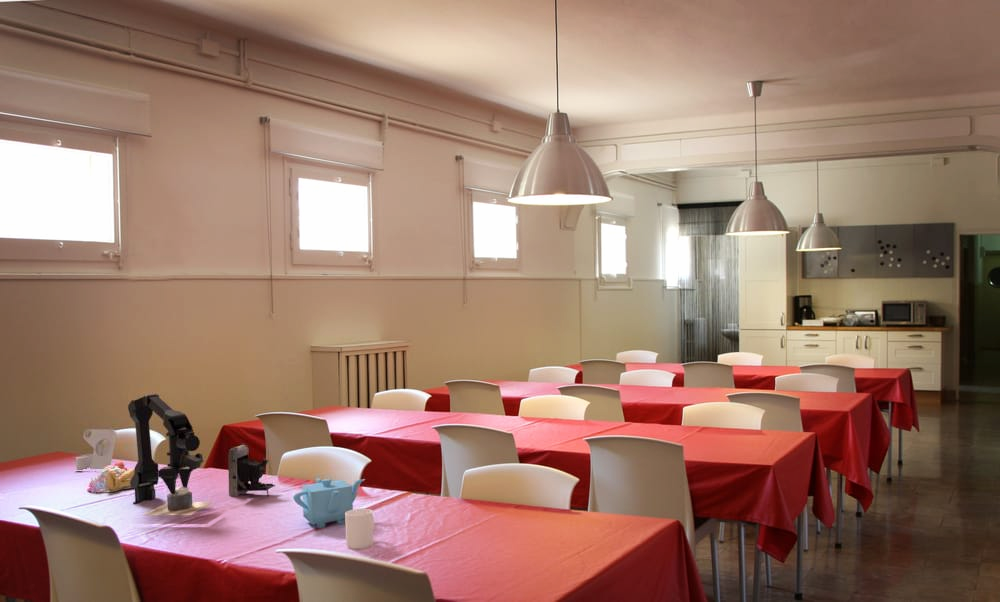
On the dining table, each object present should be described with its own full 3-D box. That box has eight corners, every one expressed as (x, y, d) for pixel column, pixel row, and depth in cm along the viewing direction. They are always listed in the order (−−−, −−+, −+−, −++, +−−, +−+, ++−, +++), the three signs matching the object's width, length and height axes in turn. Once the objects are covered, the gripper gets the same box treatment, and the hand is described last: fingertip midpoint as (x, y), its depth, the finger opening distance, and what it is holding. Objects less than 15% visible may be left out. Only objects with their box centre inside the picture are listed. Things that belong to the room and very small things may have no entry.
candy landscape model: (158, 483, 356) (158, 462, 356) (107, 496, 336) (106, 473, 336) (123, 478, 369) (122, 457, 369) (71, 490, 349) (70, 468, 349)
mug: (362, 536, 267) (361, 504, 267) (385, 539, 264) (383, 506, 264) (340, 548, 256) (339, 514, 256) (363, 550, 253) (362, 516, 253)
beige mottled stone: (166, 499, 304) (166, 491, 304) (176, 494, 312) (176, 486, 312) (183, 499, 304) (182, 491, 304) (192, 494, 311) (192, 486, 311)
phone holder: (73, 471, 386) (71, 432, 386) (88, 466, 396) (86, 428, 396) (106, 471, 383) (104, 432, 382) (120, 467, 393) (119, 428, 392)
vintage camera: (264, 501, 320) (264, 449, 320) (227, 498, 323) (227, 447, 323) (276, 495, 330) (276, 444, 329) (240, 493, 333) (240, 443, 332)
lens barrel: (163, 510, 304) (162, 497, 304) (174, 504, 313) (174, 491, 312) (185, 510, 303) (184, 496, 303) (196, 504, 312) (195, 491, 311)
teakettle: (290, 528, 279) (288, 484, 279) (318, 513, 297) (316, 472, 297) (341, 531, 274) (339, 487, 274) (367, 516, 292) (365, 474, 292)
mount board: (142, 518, 299) (142, 515, 299) (167, 505, 317) (167, 502, 317) (190, 518, 297) (190, 515, 297) (213, 505, 315) (213, 501, 315)
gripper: (186, 453, 297) (187, 497, 298) (210, 443, 316) (211, 484, 316) (156, 453, 299) (158, 497, 299) (182, 443, 317) (183, 485, 317)
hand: (179, 491), depth 308 cm, fingers open, 9 cm apart
